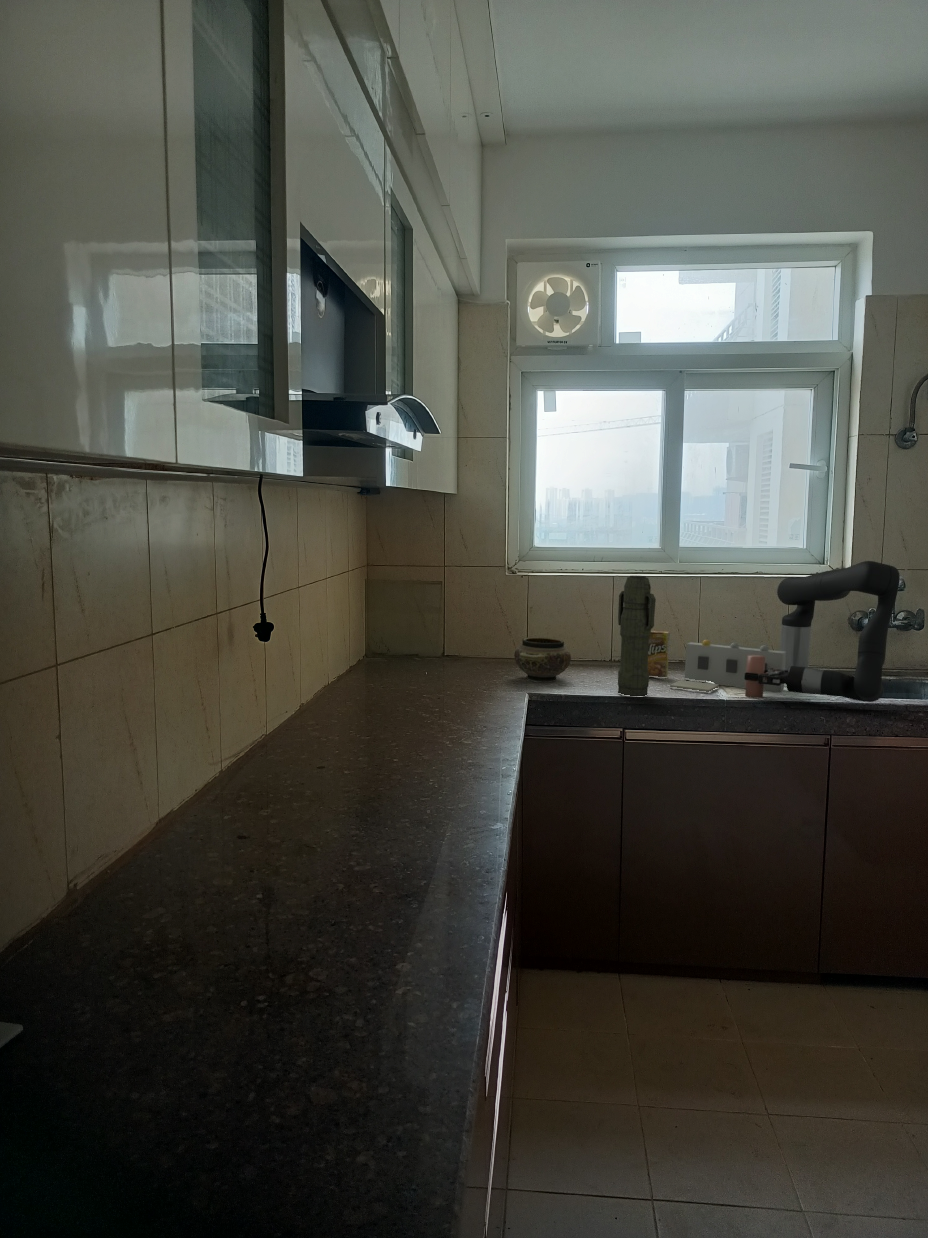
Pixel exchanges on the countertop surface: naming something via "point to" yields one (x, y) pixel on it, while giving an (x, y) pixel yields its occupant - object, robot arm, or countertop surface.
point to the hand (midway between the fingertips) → (748, 673)
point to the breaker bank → (728, 663)
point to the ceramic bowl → (542, 658)
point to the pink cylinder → (755, 666)
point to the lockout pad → (694, 685)
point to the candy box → (658, 653)
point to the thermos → (635, 635)
